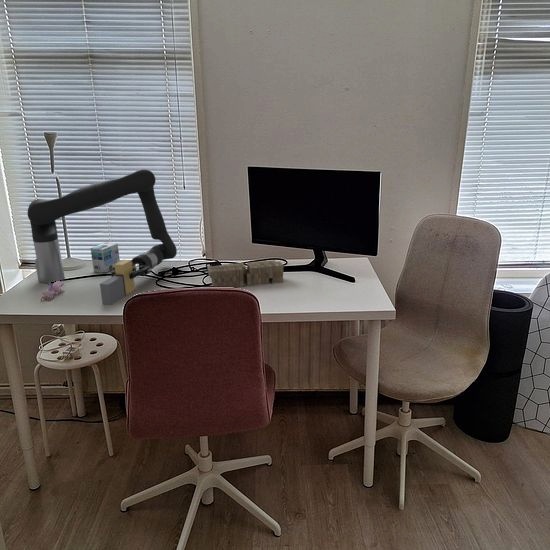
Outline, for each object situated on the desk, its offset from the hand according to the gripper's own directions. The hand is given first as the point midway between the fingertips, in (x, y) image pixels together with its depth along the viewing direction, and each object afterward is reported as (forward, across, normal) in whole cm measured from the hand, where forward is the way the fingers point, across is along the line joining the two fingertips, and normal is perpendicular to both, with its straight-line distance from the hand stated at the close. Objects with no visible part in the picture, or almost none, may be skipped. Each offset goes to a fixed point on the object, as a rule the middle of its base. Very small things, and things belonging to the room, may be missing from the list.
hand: (121, 275), depth 185 cm
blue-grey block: (+6, 0, +7) cm, 10 cm away
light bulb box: (-25, -25, +8) cm, 36 cm away
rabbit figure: (+7, -26, +8) cm, 28 cm away
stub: (-2, 0, +7) cm, 8 cm away
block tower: (-23, +41, +8) cm, 48 cm away
